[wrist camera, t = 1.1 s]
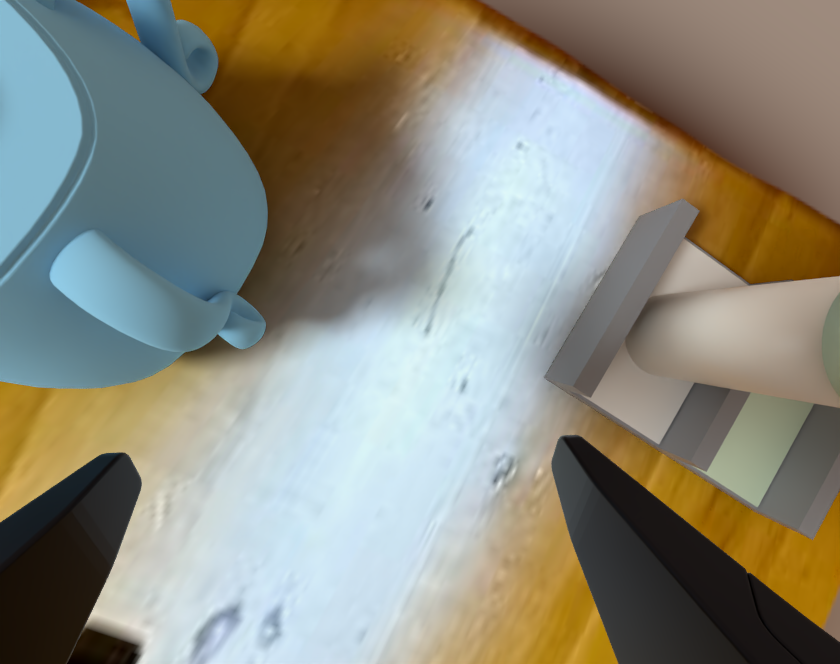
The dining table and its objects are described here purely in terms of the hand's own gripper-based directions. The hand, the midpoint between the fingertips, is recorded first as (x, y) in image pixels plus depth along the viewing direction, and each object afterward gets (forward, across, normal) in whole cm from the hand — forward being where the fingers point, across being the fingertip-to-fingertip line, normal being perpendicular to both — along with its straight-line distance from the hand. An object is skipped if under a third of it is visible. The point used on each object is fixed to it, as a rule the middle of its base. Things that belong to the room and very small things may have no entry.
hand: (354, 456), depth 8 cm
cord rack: (+13, -21, +8) cm, 26 cm away
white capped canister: (+13, -18, +6) cm, 23 cm away
